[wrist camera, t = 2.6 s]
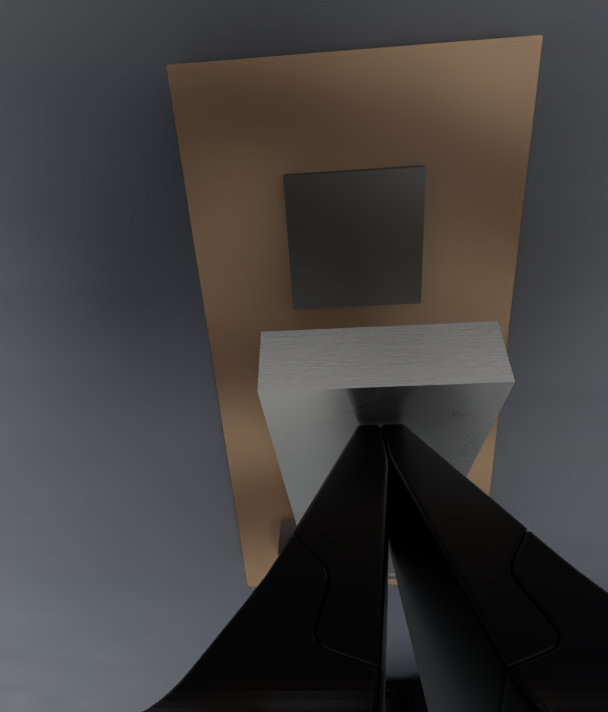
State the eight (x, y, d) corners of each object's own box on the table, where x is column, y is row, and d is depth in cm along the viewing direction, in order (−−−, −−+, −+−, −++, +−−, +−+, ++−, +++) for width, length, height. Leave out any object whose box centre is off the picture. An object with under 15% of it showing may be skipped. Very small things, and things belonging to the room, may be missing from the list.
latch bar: (415, 544, 20) (419, 581, 20) (307, 547, 21) (307, 583, 20) (508, 316, 8) (529, 386, 8) (249, 327, 9) (244, 397, 8)
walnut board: (469, 555, 23) (491, 621, 20) (252, 559, 23) (241, 623, 20) (522, 42, 14) (574, 22, 11) (180, 70, 15) (144, 57, 12)
